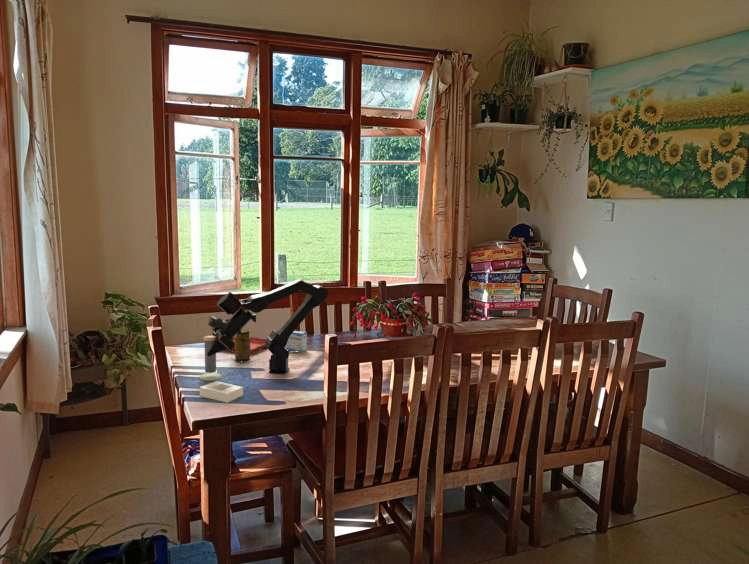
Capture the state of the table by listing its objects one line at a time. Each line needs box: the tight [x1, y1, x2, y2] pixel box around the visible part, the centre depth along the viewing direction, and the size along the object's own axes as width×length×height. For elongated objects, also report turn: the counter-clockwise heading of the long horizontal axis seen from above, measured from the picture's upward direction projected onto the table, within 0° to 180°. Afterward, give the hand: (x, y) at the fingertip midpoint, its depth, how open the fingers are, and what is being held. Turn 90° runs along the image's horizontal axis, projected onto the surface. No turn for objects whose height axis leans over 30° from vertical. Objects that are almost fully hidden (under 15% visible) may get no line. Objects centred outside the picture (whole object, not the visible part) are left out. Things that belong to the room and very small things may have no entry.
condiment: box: [230, 329, 257, 364], centre depth 243 cm, size 7×8×12 cm
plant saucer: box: [226, 335, 267, 355], centre depth 261 cm, size 18×18×3 cm
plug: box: [203, 335, 217, 374], centre depth 219 cm, size 4×4×13 cm
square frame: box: [199, 380, 244, 403], centre depth 201 cm, size 8×12×3 cm, turn 63°
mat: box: [199, 372, 222, 382], centre depth 220 cm, size 8×8×1 cm
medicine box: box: [285, 330, 308, 353], centre depth 259 cm, size 8×4×9 cm, turn 73°
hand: (206, 353), depth 218 cm, fingers closed on plug, 4 cm apart
